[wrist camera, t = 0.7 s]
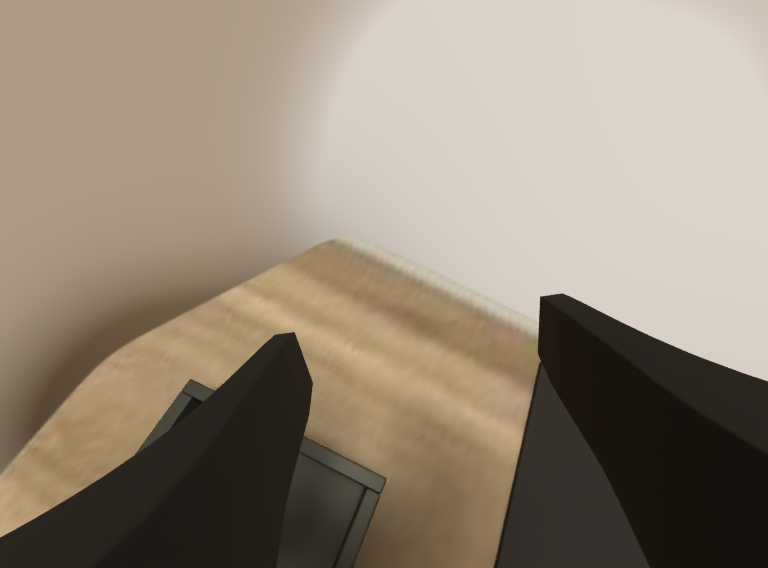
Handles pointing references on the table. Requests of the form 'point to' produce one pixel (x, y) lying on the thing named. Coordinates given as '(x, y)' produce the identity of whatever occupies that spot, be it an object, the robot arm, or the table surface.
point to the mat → (562, 498)
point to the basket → (308, 497)
